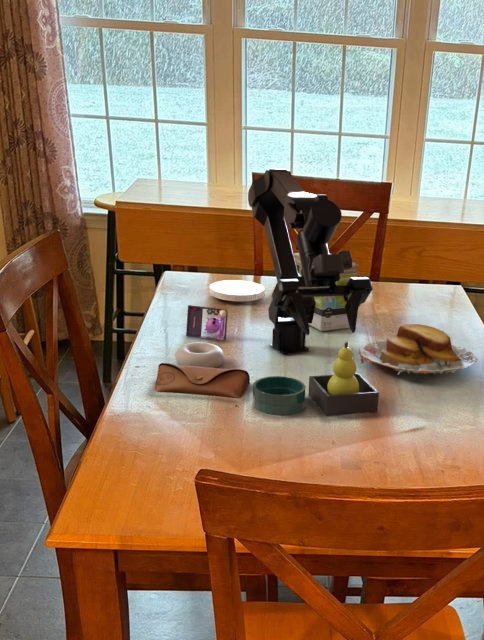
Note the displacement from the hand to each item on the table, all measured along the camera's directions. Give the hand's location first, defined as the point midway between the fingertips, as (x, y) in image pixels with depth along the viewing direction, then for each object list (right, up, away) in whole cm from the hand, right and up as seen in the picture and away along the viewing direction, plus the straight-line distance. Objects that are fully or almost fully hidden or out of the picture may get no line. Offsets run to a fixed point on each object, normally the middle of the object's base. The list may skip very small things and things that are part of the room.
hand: (331, 332), depth 156 cm
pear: (+2, -13, 0) cm, 14 cm away
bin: (+2, -14, 0) cm, 14 cm away
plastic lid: (-25, +25, +56) cm, 66 cm away
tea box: (-3, +15, +44) cm, 47 cm away
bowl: (-10, -15, -2) cm, 18 cm away
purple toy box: (-28, +7, +29) cm, 41 cm away
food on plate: (+18, -1, +23) cm, 29 cm away
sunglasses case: (-25, -11, +2) cm, 27 cm away
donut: (-28, -3, +14) cm, 31 cm away
